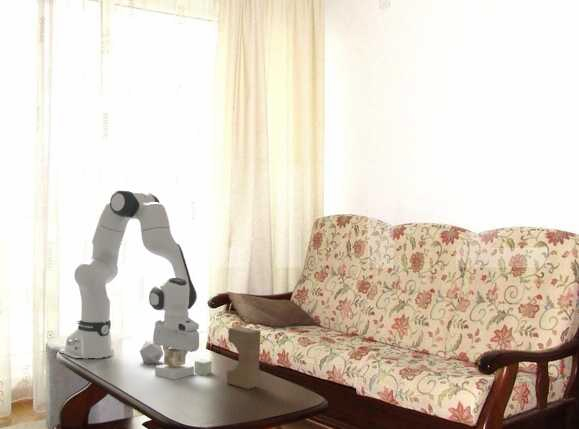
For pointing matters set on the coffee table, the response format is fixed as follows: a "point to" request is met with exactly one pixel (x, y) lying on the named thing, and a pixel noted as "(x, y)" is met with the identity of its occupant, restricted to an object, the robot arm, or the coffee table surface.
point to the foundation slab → (174, 371)
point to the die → (151, 352)
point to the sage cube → (203, 366)
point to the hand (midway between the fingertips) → (174, 359)
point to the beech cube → (172, 357)
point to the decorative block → (245, 357)
